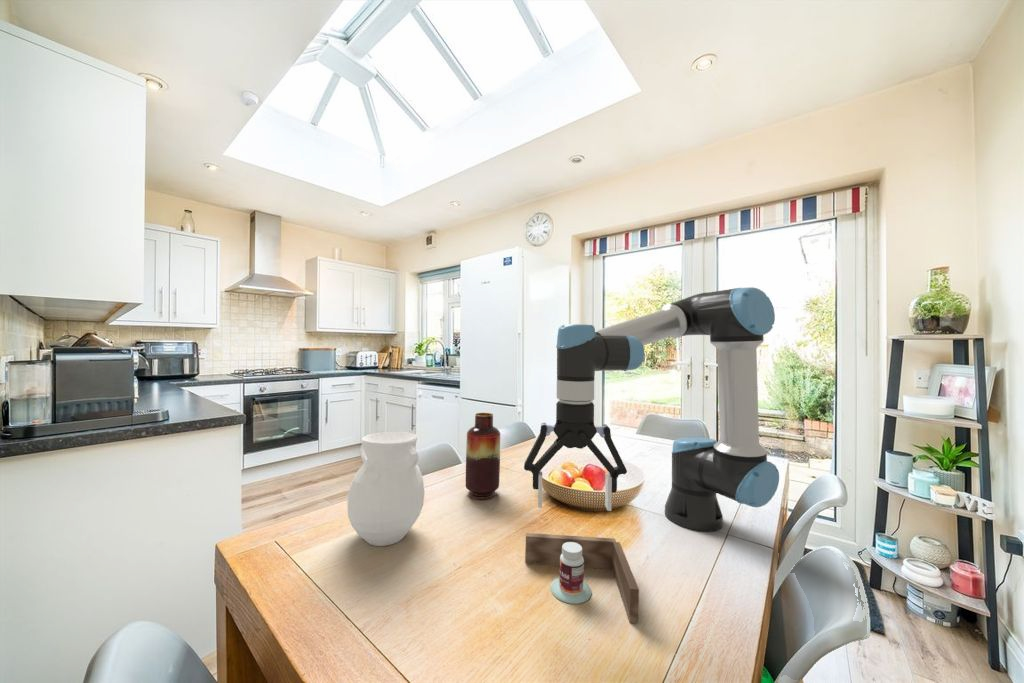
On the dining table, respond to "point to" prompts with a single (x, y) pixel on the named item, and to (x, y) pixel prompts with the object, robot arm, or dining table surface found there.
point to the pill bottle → (571, 569)
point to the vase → (482, 458)
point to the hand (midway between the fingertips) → (573, 506)
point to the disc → (567, 598)
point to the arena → (589, 561)
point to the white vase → (386, 488)
